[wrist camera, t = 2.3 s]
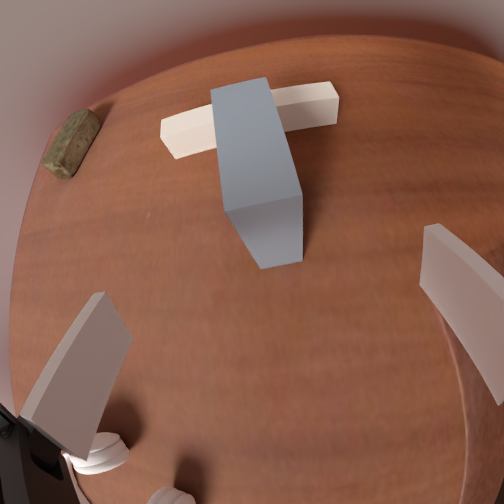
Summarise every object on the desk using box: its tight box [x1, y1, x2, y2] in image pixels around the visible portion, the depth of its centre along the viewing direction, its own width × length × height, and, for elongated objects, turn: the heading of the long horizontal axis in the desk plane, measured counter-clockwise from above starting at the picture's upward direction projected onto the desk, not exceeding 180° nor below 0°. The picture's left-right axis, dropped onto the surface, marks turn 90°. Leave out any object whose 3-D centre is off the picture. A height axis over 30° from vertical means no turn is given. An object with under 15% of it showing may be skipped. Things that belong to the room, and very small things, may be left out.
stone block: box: [42, 109, 101, 179], centre depth 35 cm, size 6×12×5 cm, turn 166°
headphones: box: [63, 432, 196, 504], centre depth 18 cm, size 7×18×20 cm
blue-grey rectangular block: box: [211, 77, 303, 269], centre depth 21 cm, size 10×4×13 cm, turn 10°
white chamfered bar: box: [160, 82, 339, 159], centre depth 29 cm, size 20×3×4 cm, turn 100°
